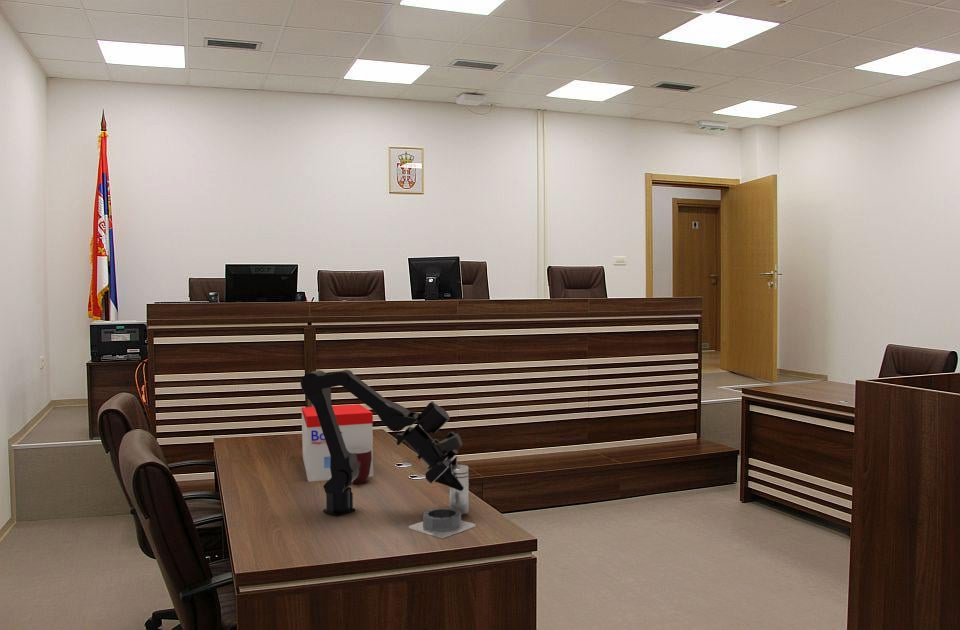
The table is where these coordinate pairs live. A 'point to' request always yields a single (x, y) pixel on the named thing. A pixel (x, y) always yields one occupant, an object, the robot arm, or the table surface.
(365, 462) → the mug
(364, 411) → the red-topped cereal carton
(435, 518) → the ring sleeve
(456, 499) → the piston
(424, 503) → the table surface
